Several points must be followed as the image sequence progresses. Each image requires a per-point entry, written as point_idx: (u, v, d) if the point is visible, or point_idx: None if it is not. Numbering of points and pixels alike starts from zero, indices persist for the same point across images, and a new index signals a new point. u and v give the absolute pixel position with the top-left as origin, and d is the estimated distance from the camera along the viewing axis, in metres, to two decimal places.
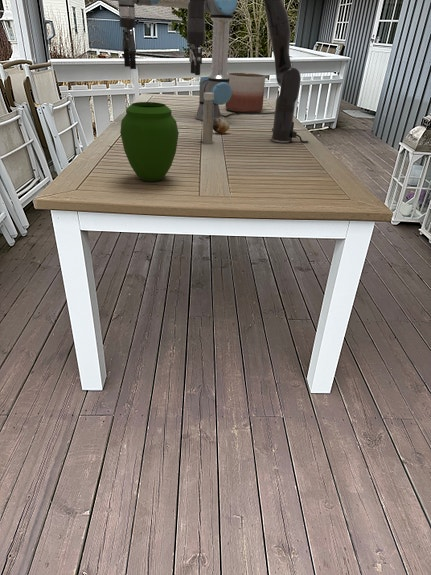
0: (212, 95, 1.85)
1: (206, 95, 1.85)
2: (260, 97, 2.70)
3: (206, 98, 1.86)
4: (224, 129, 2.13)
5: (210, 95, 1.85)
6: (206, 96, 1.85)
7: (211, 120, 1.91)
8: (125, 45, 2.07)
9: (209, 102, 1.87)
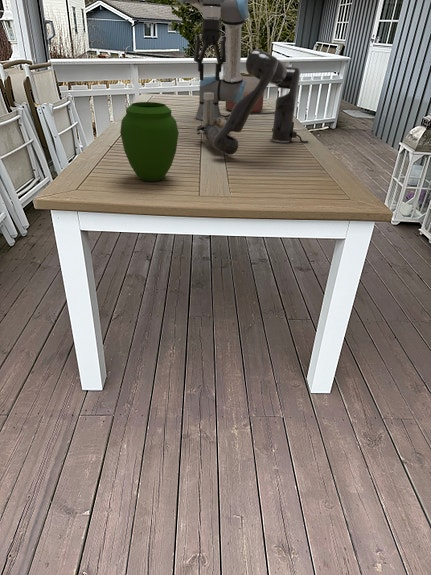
0: (212, 95, 1.85)
1: (206, 95, 1.85)
2: (260, 97, 2.70)
3: (206, 98, 1.86)
4: None
5: (210, 95, 1.85)
6: (206, 96, 1.85)
7: (211, 120, 1.91)
8: (215, 53, 1.79)
9: (209, 102, 1.87)
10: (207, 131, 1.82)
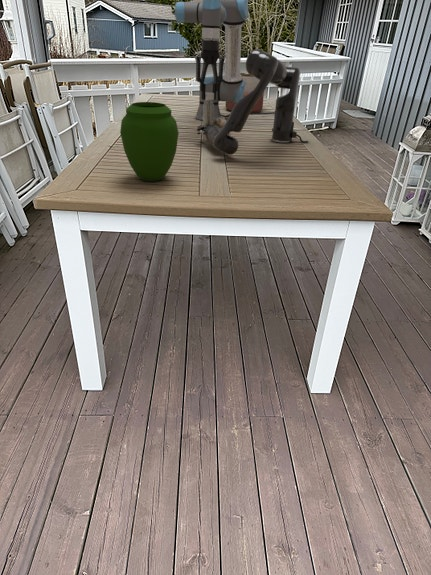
0: (212, 95, 1.85)
1: (206, 95, 1.85)
2: (260, 97, 2.70)
3: (206, 98, 1.86)
4: None
5: (210, 95, 1.85)
6: (206, 96, 1.85)
7: (211, 120, 1.91)
8: (213, 73, 1.83)
9: (209, 102, 1.87)
10: (207, 131, 1.82)
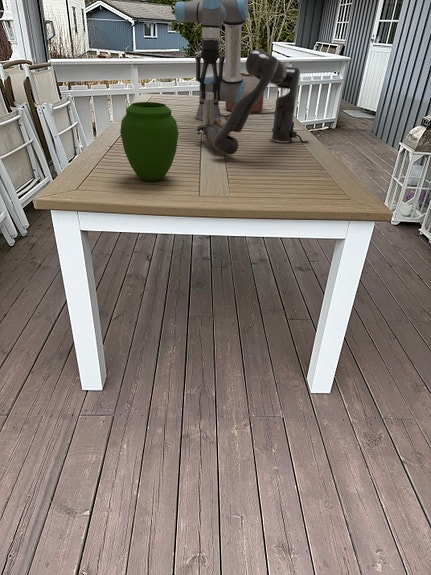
0: None
1: (213, 95, 1.86)
2: (260, 97, 2.70)
3: (213, 97, 1.87)
4: None
5: None
6: (213, 96, 1.87)
7: (211, 120, 1.91)
8: (213, 73, 1.83)
9: (209, 102, 1.87)
10: (207, 131, 1.82)
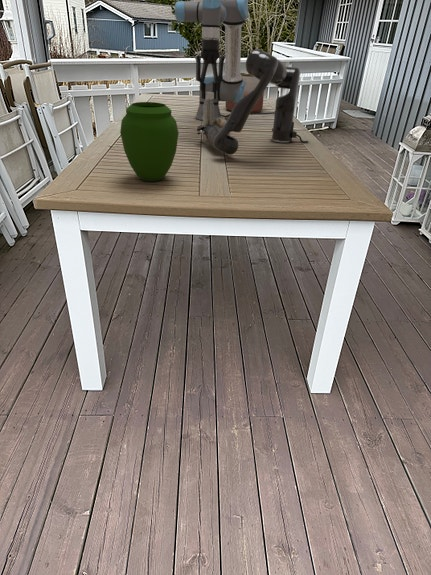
0: None
1: None
2: (260, 97, 2.70)
3: None
4: None
5: None
6: None
7: (211, 120, 1.91)
8: (213, 72, 1.83)
9: (209, 102, 1.87)
10: (207, 131, 1.82)
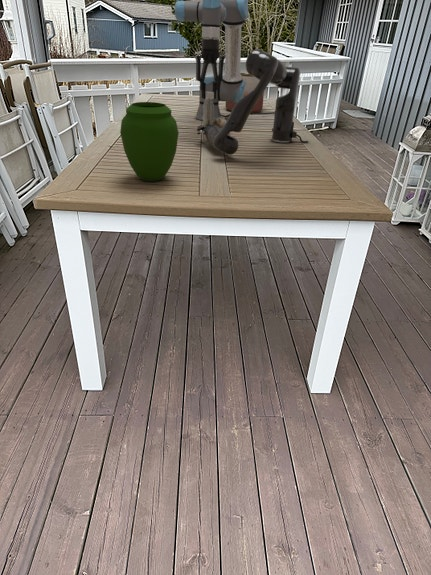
0: (210, 94, 1.85)
1: None
2: (260, 97, 2.70)
3: None
4: None
5: (207, 93, 1.84)
6: None
7: (211, 120, 1.91)
8: (213, 72, 1.83)
9: (209, 102, 1.87)
10: (207, 131, 1.82)
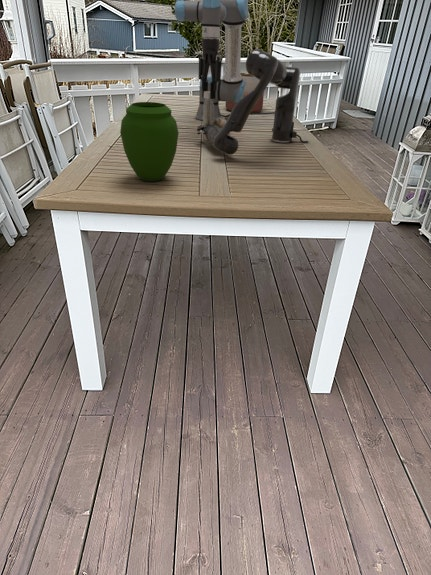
0: None
1: None
2: (260, 97, 2.70)
3: None
4: None
5: None
6: None
7: (211, 120, 1.91)
8: (205, 71, 1.83)
9: (209, 102, 1.87)
10: (207, 131, 1.82)
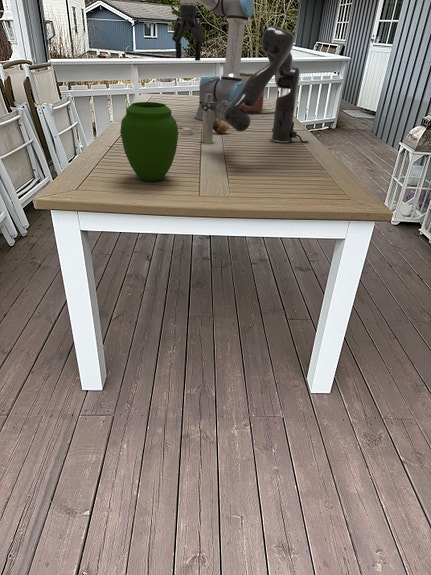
0: None
1: (190, 131, 2.10)
2: (260, 97, 2.70)
3: (190, 133, 2.11)
4: (224, 129, 2.13)
5: None
6: (190, 131, 2.10)
7: (211, 120, 1.91)
8: (180, 35, 1.91)
9: None
10: (215, 106, 1.66)
